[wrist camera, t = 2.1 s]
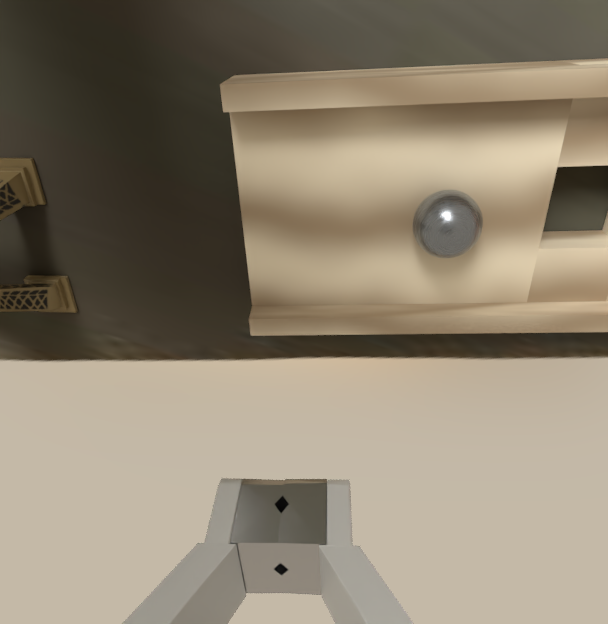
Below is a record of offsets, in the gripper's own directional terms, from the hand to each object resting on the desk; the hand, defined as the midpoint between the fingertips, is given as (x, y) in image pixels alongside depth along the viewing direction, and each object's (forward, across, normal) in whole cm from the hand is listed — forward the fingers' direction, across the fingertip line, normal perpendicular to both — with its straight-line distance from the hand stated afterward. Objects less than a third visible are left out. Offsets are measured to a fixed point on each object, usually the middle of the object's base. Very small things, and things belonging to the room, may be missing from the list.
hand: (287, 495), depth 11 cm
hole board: (+21, -9, 0) cm, 23 cm away
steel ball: (+17, -7, 0) cm, 18 cm away
